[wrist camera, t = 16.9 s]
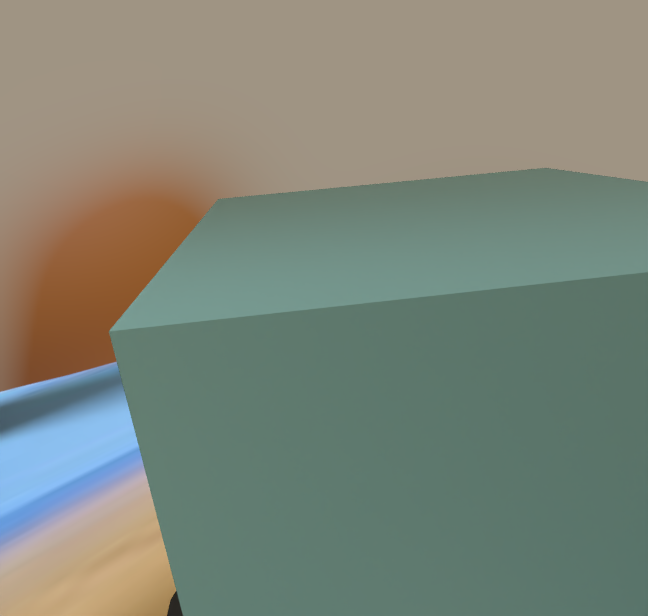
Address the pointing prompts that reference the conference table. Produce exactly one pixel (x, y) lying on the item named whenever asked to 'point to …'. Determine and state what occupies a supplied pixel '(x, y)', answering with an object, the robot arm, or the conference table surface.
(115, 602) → the conference table surface
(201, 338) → the teal post
